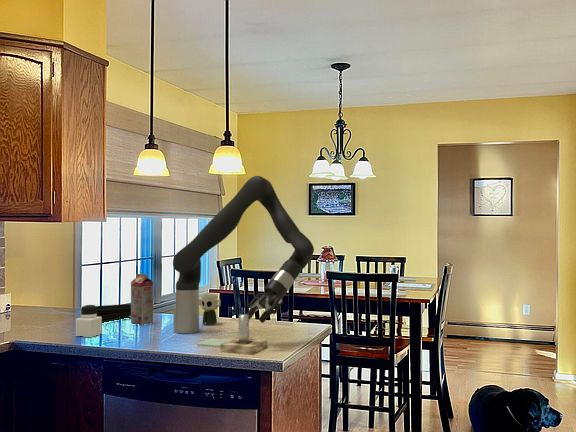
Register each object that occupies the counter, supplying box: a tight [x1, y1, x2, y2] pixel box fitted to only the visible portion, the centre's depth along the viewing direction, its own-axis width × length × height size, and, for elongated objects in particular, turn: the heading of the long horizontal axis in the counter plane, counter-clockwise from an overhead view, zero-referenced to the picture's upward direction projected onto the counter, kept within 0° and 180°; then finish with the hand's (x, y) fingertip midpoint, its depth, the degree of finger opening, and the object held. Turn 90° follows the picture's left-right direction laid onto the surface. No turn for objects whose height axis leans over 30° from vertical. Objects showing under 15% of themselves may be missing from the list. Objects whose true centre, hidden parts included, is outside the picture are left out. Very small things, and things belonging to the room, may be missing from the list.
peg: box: [238, 313, 250, 344], centre depth 202 cm, size 4×4×12 cm
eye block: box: [220, 337, 268, 355], centre depth 202 cm, size 12×12×2 cm
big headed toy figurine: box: [199, 293, 222, 325], centre depth 252 cm, size 11×7×13 cm, turn 66°
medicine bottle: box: [75, 304, 103, 338], centre depth 228 cm, size 7×7×12 cm
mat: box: [196, 338, 231, 348], centre depth 212 cm, size 10×10×1 cm
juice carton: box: [130, 273, 154, 325], centre depth 253 cm, size 7×7×22 cm
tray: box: [96, 303, 131, 323], centre depth 268 cm, size 30×23×5 cm
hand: (253, 319), depth 205 cm, fingers open, 8 cm apart
